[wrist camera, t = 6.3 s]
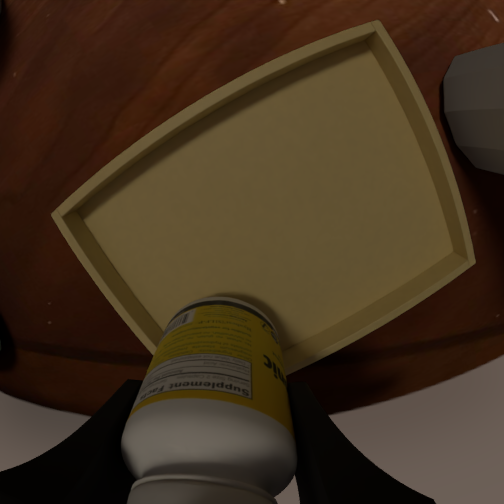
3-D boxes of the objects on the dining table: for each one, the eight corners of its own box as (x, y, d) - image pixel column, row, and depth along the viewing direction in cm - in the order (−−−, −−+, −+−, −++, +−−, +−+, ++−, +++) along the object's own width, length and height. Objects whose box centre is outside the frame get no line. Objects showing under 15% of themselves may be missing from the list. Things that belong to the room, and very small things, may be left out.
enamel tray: (207, 385, 17) (204, 408, 16) (70, 205, 14) (50, 214, 12) (456, 250, 15) (476, 263, 13) (363, 32, 11) (378, 19, 9)
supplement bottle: (275, 386, 15) (291, 565, 5) (171, 380, 15) (124, 549, 5) (285, 294, 13) (333, 513, 4) (161, 288, 13) (55, 479, 4)
